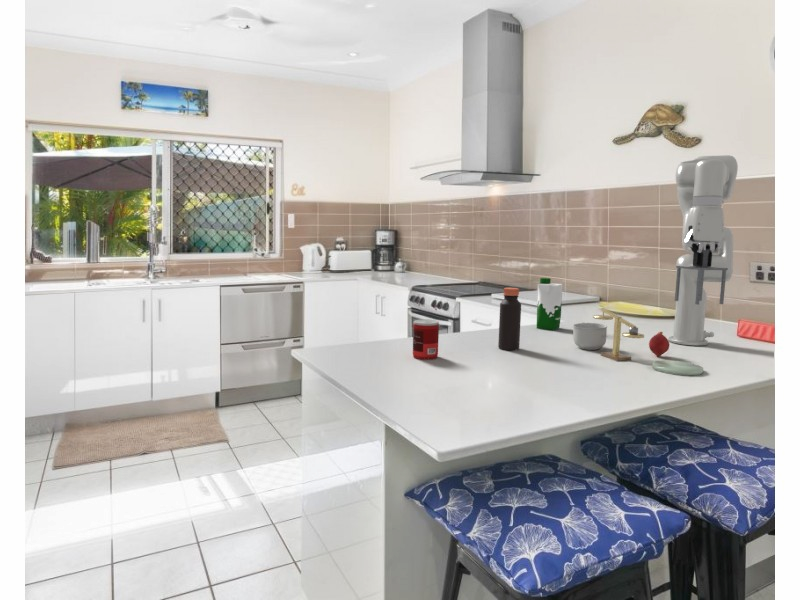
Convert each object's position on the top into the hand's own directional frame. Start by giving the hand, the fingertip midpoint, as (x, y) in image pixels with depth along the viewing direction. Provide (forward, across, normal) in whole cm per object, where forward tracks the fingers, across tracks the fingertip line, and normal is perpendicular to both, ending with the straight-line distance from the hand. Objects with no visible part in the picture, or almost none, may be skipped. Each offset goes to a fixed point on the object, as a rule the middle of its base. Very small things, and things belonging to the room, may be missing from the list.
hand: (701, 265), depth 167 cm
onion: (+30, +5, -10) cm, 31 cm away
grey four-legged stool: (+11, 0, 0) cm, 11 cm away
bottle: (+30, +48, -28) cm, 63 cm away
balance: (+29, +20, -10) cm, 37 cm away
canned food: (+30, +78, -21) cm, 86 cm away
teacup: (+30, +19, -26) cm, 44 cm away
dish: (+29, +11, +6) cm, 32 cm away
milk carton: (+29, +15, -62) cm, 70 cm away
